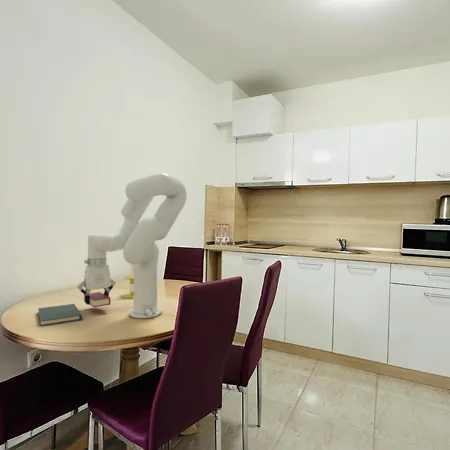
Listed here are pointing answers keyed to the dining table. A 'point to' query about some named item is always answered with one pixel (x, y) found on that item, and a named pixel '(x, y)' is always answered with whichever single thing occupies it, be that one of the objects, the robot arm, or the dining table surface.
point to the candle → (131, 277)
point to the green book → (58, 314)
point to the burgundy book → (99, 299)
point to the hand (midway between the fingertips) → (96, 302)
